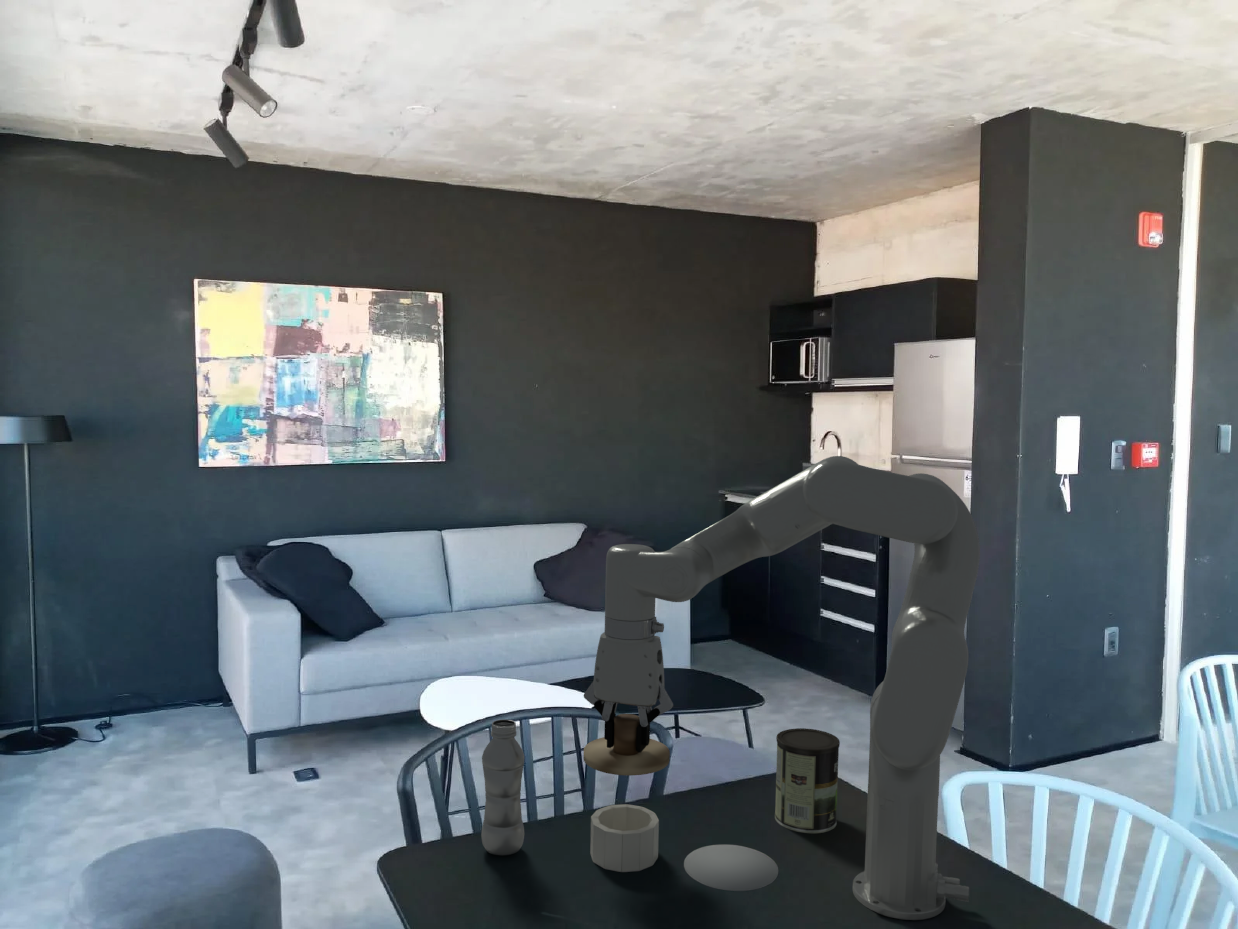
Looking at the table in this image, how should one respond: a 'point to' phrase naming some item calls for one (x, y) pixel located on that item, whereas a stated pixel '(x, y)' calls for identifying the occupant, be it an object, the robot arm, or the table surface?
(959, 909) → the table surface
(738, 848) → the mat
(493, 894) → the table surface
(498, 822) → the plastic bottle
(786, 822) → the coffee can
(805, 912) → the table surface
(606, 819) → the bowl
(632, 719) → the lid
